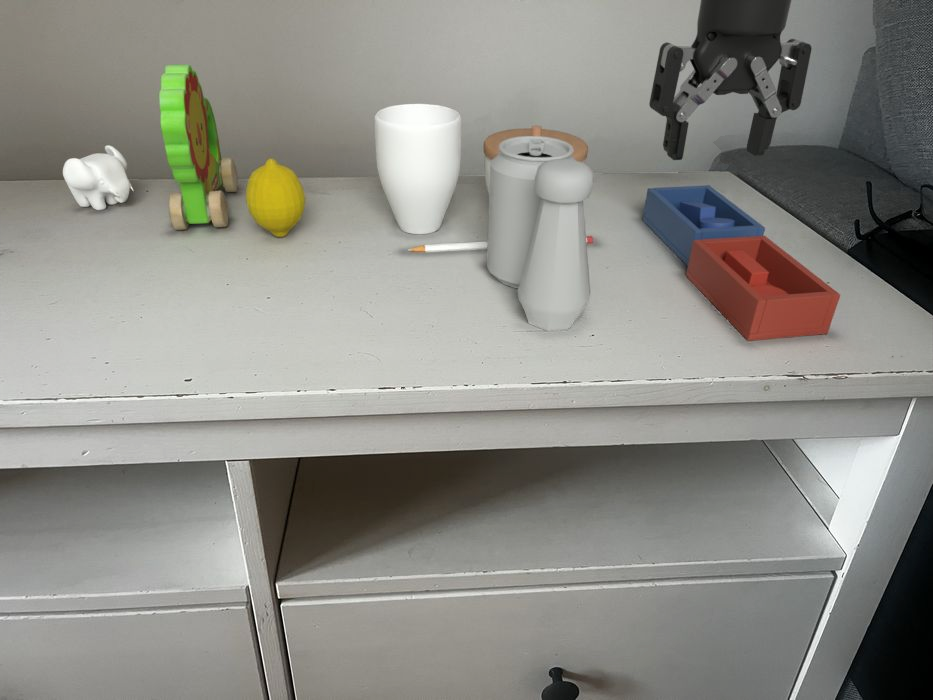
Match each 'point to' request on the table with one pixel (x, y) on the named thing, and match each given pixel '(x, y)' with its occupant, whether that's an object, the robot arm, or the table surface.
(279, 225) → the fruit
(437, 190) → the mug
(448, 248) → the pencil
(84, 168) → the elephant figurine
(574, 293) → the salt shaker
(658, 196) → the blue bin
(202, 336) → the table surface
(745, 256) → the red spoon
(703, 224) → the blue spoon
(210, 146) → the toy lion
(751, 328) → the red bin
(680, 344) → the table surface
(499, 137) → the trinket box
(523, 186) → the can
